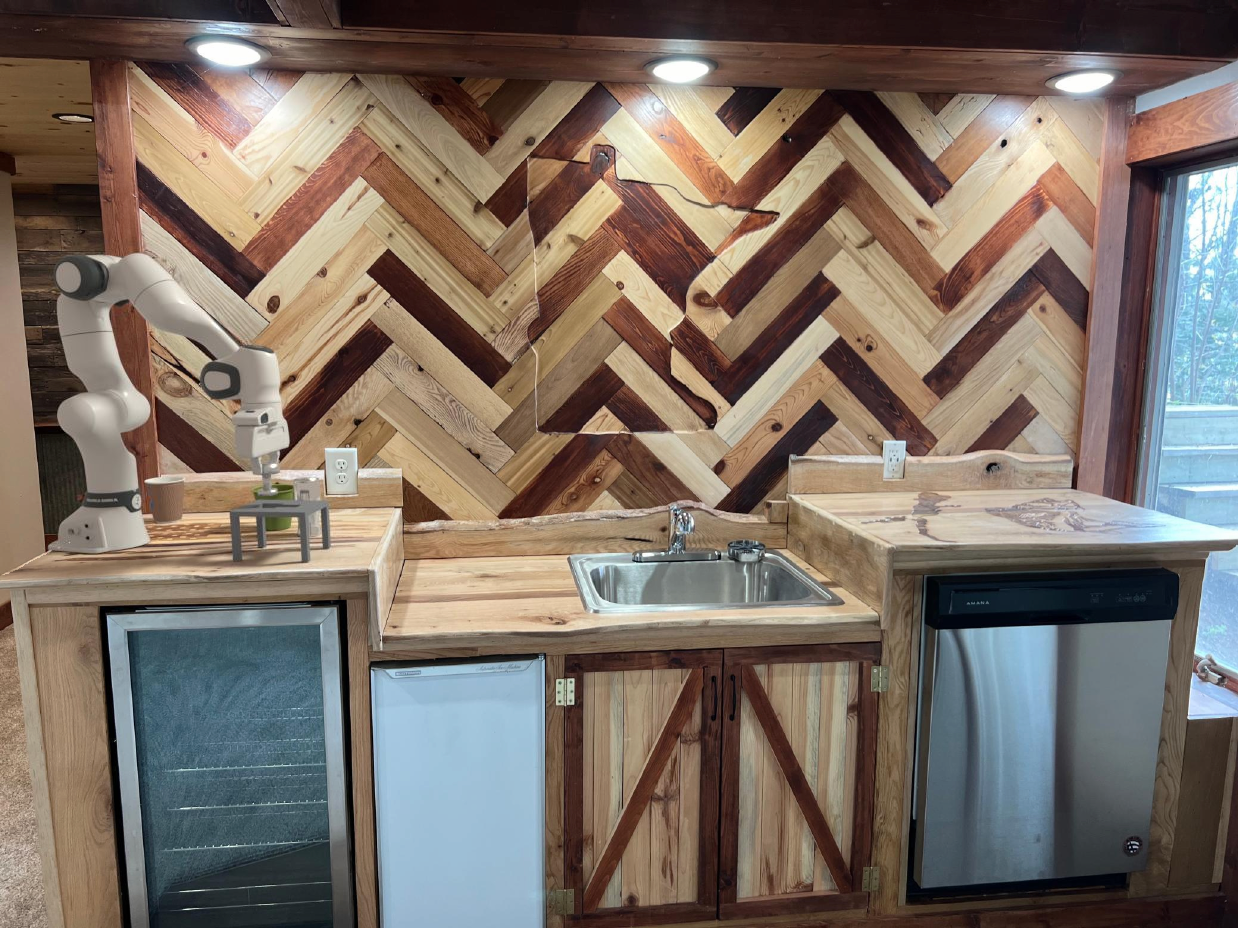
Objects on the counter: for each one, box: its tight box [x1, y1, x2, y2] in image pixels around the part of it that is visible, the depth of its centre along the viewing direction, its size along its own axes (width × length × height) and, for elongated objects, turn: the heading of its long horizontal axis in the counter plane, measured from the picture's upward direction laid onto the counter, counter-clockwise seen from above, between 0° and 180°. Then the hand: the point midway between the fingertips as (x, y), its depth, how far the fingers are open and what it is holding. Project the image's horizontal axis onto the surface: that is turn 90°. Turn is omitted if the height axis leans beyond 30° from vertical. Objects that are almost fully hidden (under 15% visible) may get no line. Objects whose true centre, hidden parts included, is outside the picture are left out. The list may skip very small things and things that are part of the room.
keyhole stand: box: [229, 499, 332, 563], centre depth 205 cm, size 18×14×12 cm
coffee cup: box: [144, 476, 186, 524], centre depth 241 cm, size 10×10×12 cm
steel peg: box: [251, 460, 281, 496], centre depth 203 cm, size 6×6×8 cm
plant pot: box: [250, 483, 293, 531], centre depth 232 cm, size 12×12×11 cm
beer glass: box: [292, 476, 322, 538], centre depth 225 cm, size 7×7×15 cm
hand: (266, 471), depth 203 cm, fingers closed on steel peg, 6 cm apart
